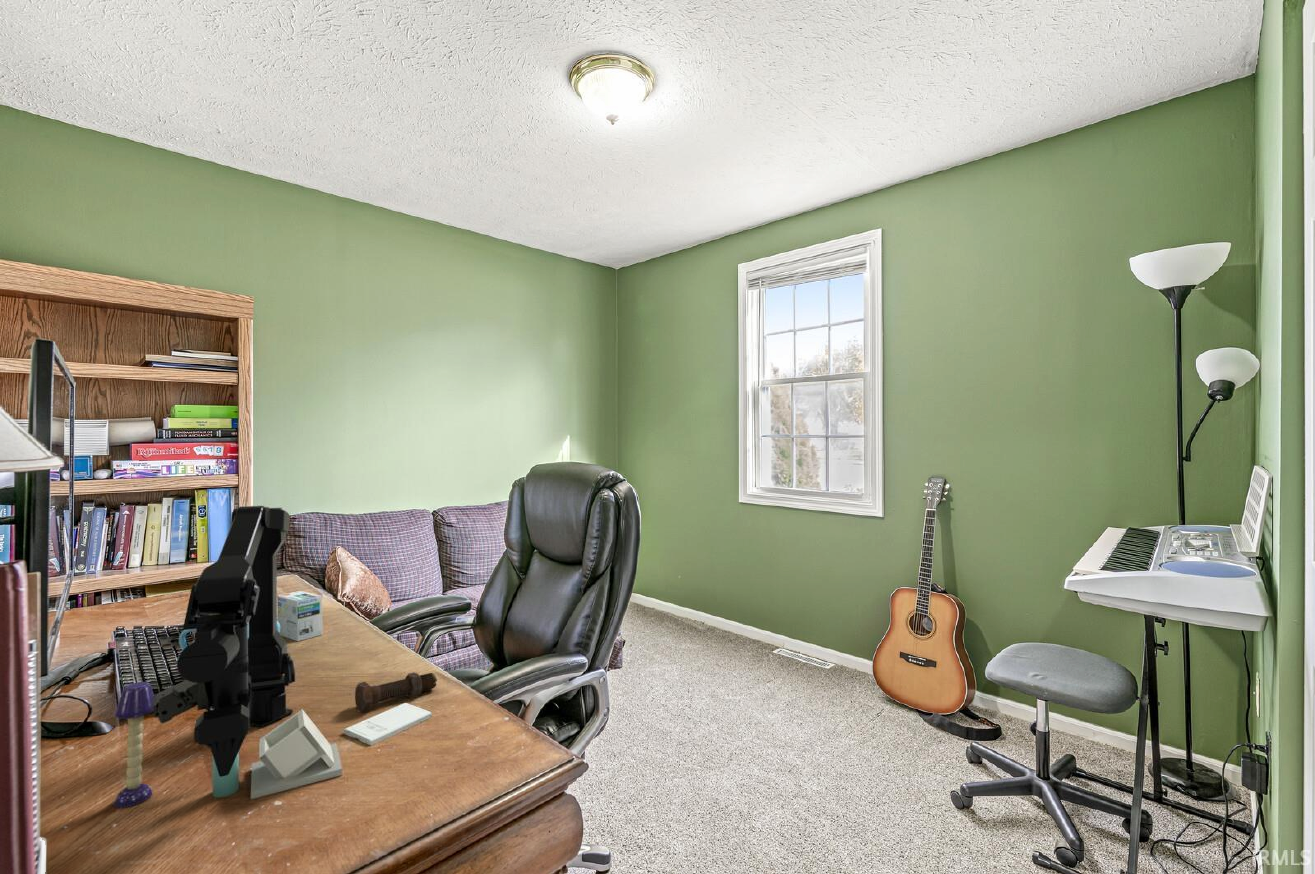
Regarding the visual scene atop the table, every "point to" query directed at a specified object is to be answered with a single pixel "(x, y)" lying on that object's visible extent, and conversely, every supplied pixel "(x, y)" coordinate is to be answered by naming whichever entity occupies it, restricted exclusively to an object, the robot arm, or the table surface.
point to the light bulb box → (300, 615)
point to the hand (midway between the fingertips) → (225, 761)
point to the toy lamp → (134, 741)
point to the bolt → (392, 690)
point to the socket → (293, 757)
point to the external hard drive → (387, 723)
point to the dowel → (226, 780)
